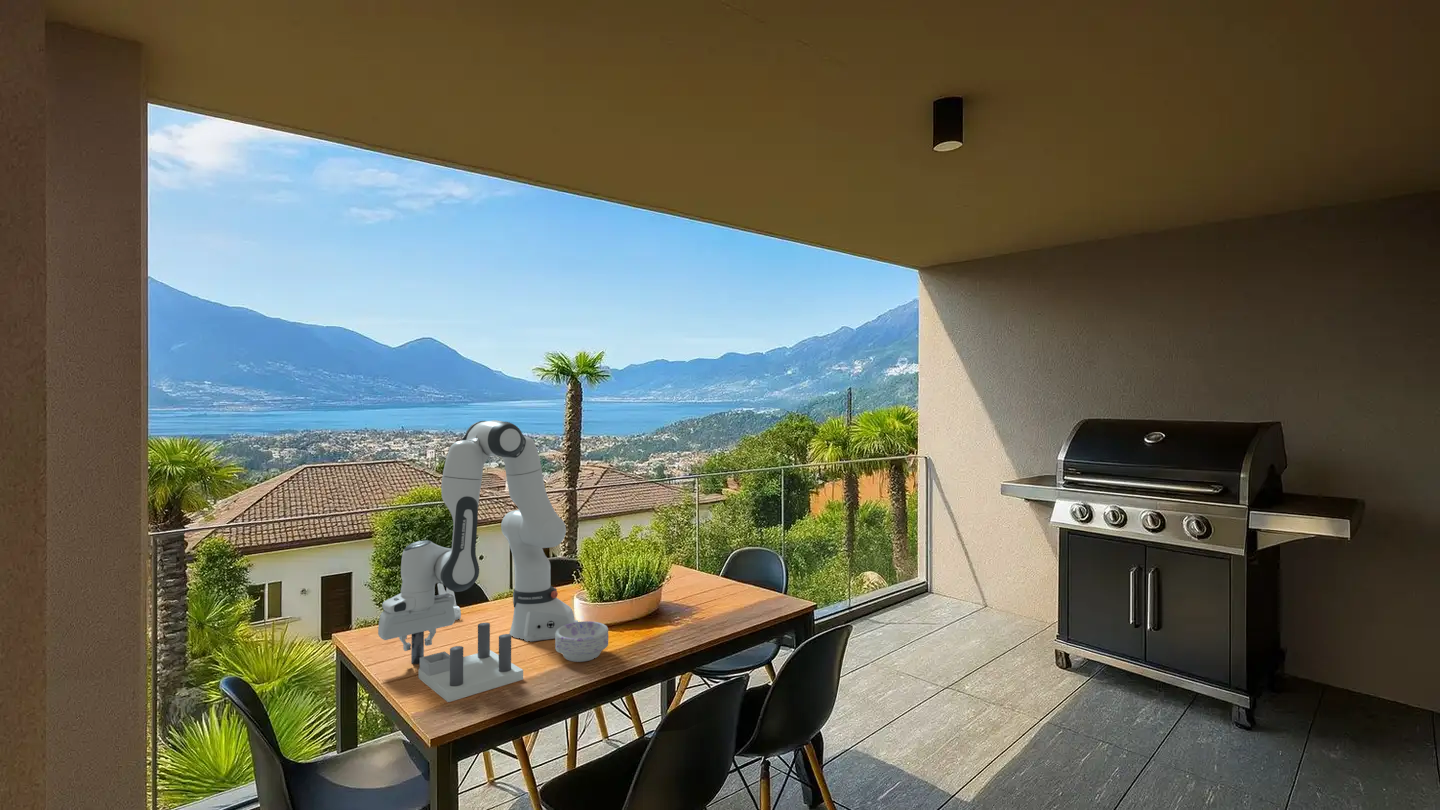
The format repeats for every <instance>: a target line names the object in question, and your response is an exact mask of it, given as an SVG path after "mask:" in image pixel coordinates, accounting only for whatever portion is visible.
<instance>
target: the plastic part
mask: <svg viewBox="0 0 1440 810" xmlns="http://www.w3.org/2000/svg"><path fill="white" fill-rule="evenodd" d="M436 584H437V593H438V595H443V594H446V593H449V594H451V595H453V596H454V606H453V607H454V613H455V621H459V620H461V617H462V612H461V608H460V606H458V605H457V602H456V600H457V599H456V596H455V595H456V594H455V591H451V590H449V589H448V588H447V587H446V586H445V585H444V584H443V583H442V582H439V583H436ZM444 586H445V587H446V590H445V587H444ZM458 619H459V620H458Z"/></svg>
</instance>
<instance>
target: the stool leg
mask: <svg viewBox="0 0 1440 810" xmlns="http://www.w3.org/2000/svg"><path fill="white" fill-rule="evenodd" d="M424 634H425V631H424V632H419V633H415V634H411V639H410V640H411V642H410V644H411V650H410V651H411V652H410V653H411V660H410V661H411V662H410V663H411V665H412V664H413V665H420V657H424V655H425V653H424V652H425V649H424V648H425V647H424V646H425V643H424V642H425V641H424V640H425V635H424Z"/></svg>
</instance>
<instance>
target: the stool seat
mask: <svg viewBox="0 0 1440 810" xmlns="http://www.w3.org/2000/svg"><path fill="white" fill-rule="evenodd" d="M490 648H491V624H490V622H480V623H478V624H477V652H476V653H473V654H470V655H466V656H465V655H464V647H463V646H462V645H456V646H452V647H450V648H449V653H448V652H446V651H440V652H437V653H433V654H429V655H425V656H424V657H420V664H419V668H418V679H419V680H420V681H422V683H424V684H425V685H426V686H428V688H430V689H431V690H432V691H433V692H434V693H436V694H437V695H439V697H441V698H442V699H443V700H445V701H446V702H447V703H451V702H454V701H458V700H460V699H463V698H466V697H470V696H474V695H476V694H480V693H484V692H486V691H489V690H494V689H496V688H500V687H504V686H506V685H509V684H512V683H516V682H520V681H523V680H524V669H523V668H521V667H519V666H518V665H516V664H514V663H512V636H511V635H510V633H503V634H500V635H499V636H498V653H496V652H494V651H493V650H492V649H490Z"/></svg>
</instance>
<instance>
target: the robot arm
mask: <svg viewBox="0 0 1440 810" xmlns="http://www.w3.org/2000/svg"><path fill="white" fill-rule="evenodd" d="M490 457H492V458H493V457H500V458H501V459H502V460H503V464H504V470H505V477H506V483H507V488H508V495H509V498H510V499H511V501H513V502H512V503H514V504H515V505H516V507H517V508H518V509H515V510H511V511H508V512H507V513H506V514H505V515H504V516H503V518H502V520H501V525H500V529H501V533H502V535H503V536H504V537H505V539H506V540H507V543H508V544H509V548H510V551H511V555H512V560H513V563H514V564H513V565H514V589H513V592H512V604H513V607H514V609H513V617H512V622H511V626H510V631H509V634H510V635H511V637H512V636H513V638H515V639H519V638H520V640H523V639H524V641H525V642H528V641H530V642H538V641H545V640H552V639H554V640H555V632H556V630H557V629H558V628H560V627H561V626H563V625H566V624H569V623H574V622H578V621H579V620H577V619H575V614H574V612H573V608H571V606H569V604H567V603H565V602H564V601H562V600H561V599H559V598H558V591H557V590H558V589H557V588H556V586H552V585H551V562H550V559H548V557H547V555H546V554H545V552H544V549H546V548H547V549H548V548H549V549H550V548H555V547H557V546H559V545H560V544H561V543H562V542H563V541H564V539H565V537H566V533H567V526H566V523H565V521H564V520H563V519H562V518H561V516H559V515H558V513H557V512H556V511H555V509H554V507H553V505H552V503H551V501H550V499H549V495H548V493H547V490H546V486H545V481H544V475H543V470H542V463H541V458H540V455H539V452H538V449H537V445H536V443H535V441H534V439H532V438H531V437H529V436H525V435H524V434H523V432H522V431H521V428H519V427H518V426H517V425H515V424H514V423H512V422H510V421H503V420H496V419H494V420H492V419H491V420H480V421H477V422H474V423H473V424H471V425H470V426H469V428H468V429H467V430H466V433H465V434H464V436H463V437H462V439H461V440H458V441H455V442H454V443H452V444H451V445H450V447H449V449H448V452H447V455H446V458H445V461H444V467H443V471H442V477H441V486H440V487H441V488H440V489H441V499H442V500H443V501H442V502H444V505H445V506H446V508H447V509H448V511H449V513H450V514H451V517H452V523H453V528H452V542H451V547H444V546H441V545H438V544H436V543H434V542H433V541H431V540H428V539H426V540H418V541H415V542H412V543H409V544H408V545H407V546H406V547H404V548H403V551H402V554H401V560H400V561H401V564H400V576H401V577H400V578H401V581H402V582H401V583H402V584H401V586H400V593H398V594H396V595H394V596H392V597H390V598H388V599H386V600H384V601H383V602H382V605H381V606H382V609H383V611H382V612H381V613H380V615H379V619H378V627H377V631H378V632H377V634H378V636H379V637H380V639H382V640H383V641H388V640H392V639H396V638H398V639H399V641H400V642H401V643H402V644H403V647H402V648H403V651H404V652H408V651H411V642H407V641H406V640H407V639H408V636H410V635H412V634H415V633H419V632H424V633H425V632H427V631H428V633H429V634H428V635H427V637H426V638H425V637H424V646H426V647H428V646H431V645H432V644H433V638H434V637H435V634H436V633H437V629H440V628H444V627H448V626H453V624H454V623H455V622H456V620H455V613H454V607H453V606H454V596H453V595H451V594H449V593H446V594H443V595H439V594H437V595H435V594H436V593H435V592H436V589H435V587H436V584H438V583H442V584H443V586H445V587H447V588H448V589H449V590H451V591H453V592H454V593H457V592H464V591H466V590H469V589H470V588H471V587H473V585H475V583H476V582H477V580H478V578H479V575H480V565H479V562H478V558H477V555H476V552H477V551H476V547H477V533H478V516H479V515H478V512H479V504H480V503H479V502H480V494H481V488H482V483H483V481H482V480H483V474H484V473H483V472H484V467H485V464H486V463H487V460H488V459H489V458H490Z"/></svg>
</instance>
